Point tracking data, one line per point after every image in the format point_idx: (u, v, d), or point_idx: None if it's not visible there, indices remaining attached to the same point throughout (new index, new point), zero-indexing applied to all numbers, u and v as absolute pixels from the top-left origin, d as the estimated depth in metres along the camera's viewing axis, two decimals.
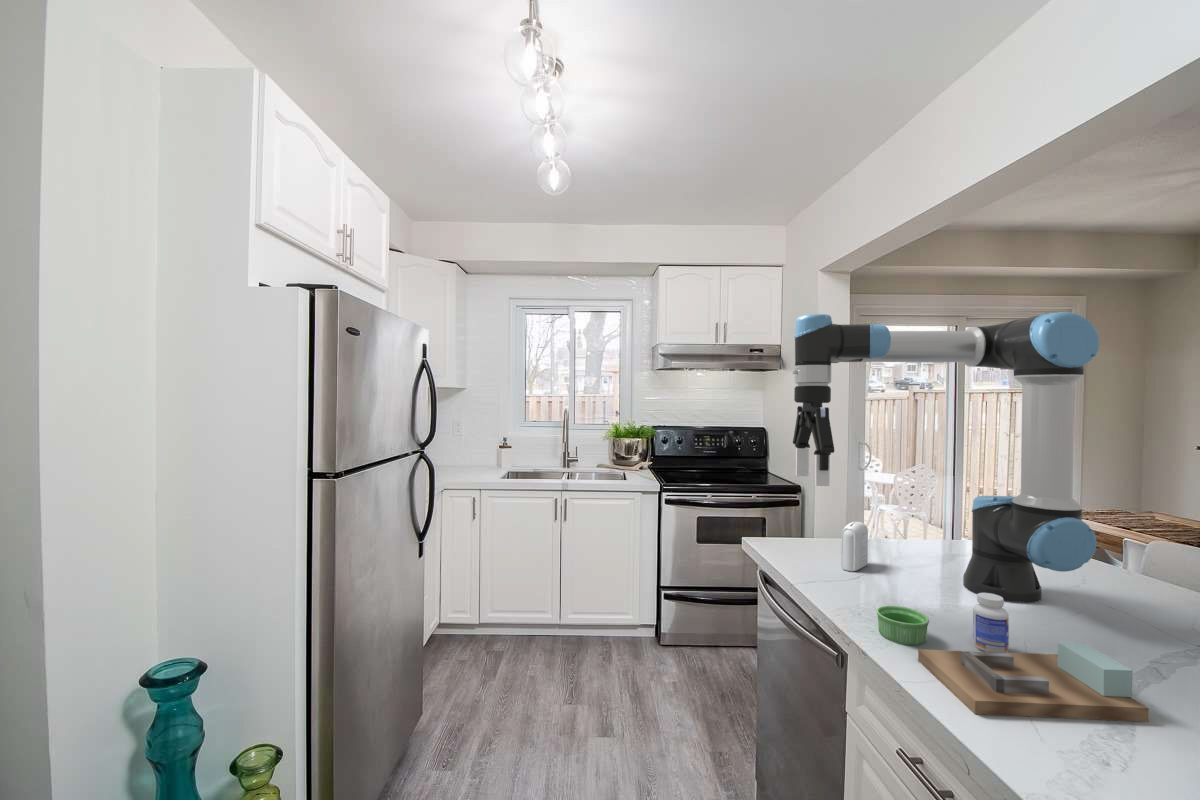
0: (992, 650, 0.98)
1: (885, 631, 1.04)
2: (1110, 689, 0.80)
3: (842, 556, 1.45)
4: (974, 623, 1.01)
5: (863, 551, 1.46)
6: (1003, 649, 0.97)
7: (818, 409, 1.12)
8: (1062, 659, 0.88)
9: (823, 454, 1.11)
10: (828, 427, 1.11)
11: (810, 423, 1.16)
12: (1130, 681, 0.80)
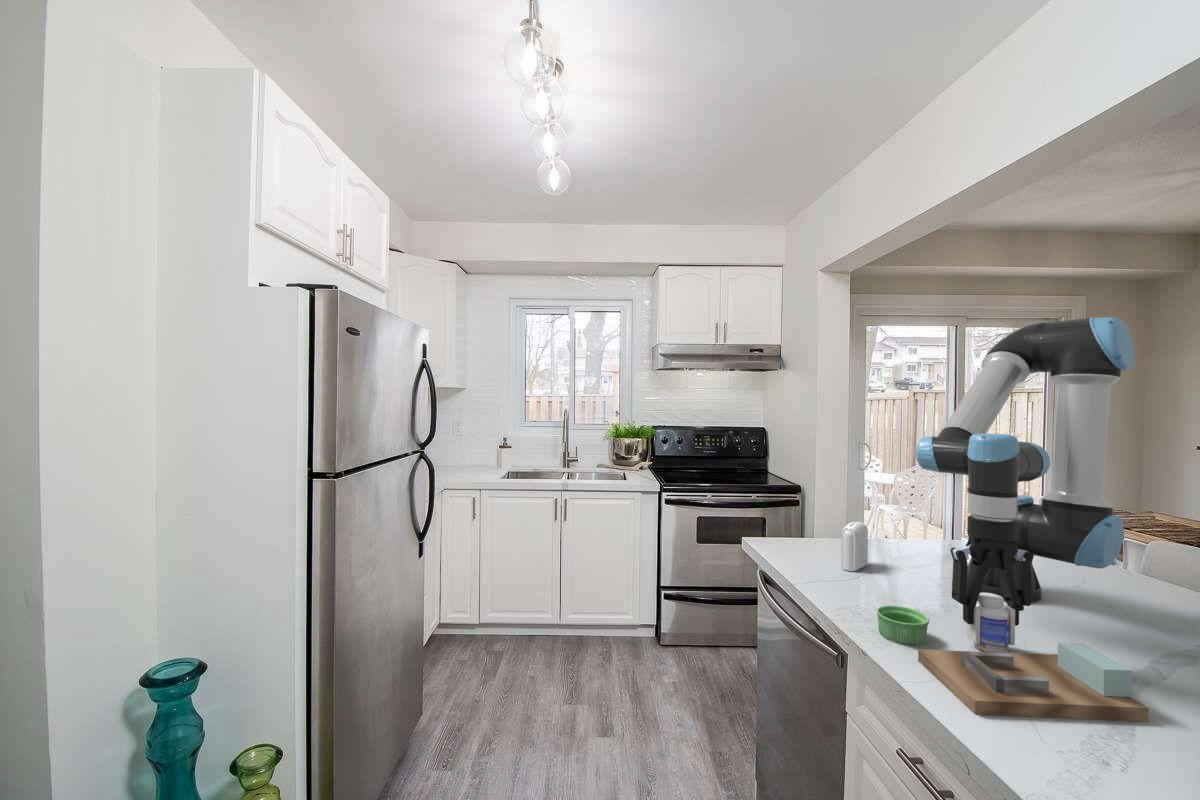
0: (992, 650, 0.98)
1: (885, 631, 1.04)
2: (1110, 689, 0.80)
3: (842, 556, 1.45)
4: None
5: (862, 551, 1.46)
6: (1003, 649, 0.97)
7: (951, 551, 1.01)
8: (1062, 659, 0.88)
9: (962, 603, 1.01)
10: (959, 574, 1.00)
11: (971, 563, 1.02)
12: (1130, 681, 0.80)
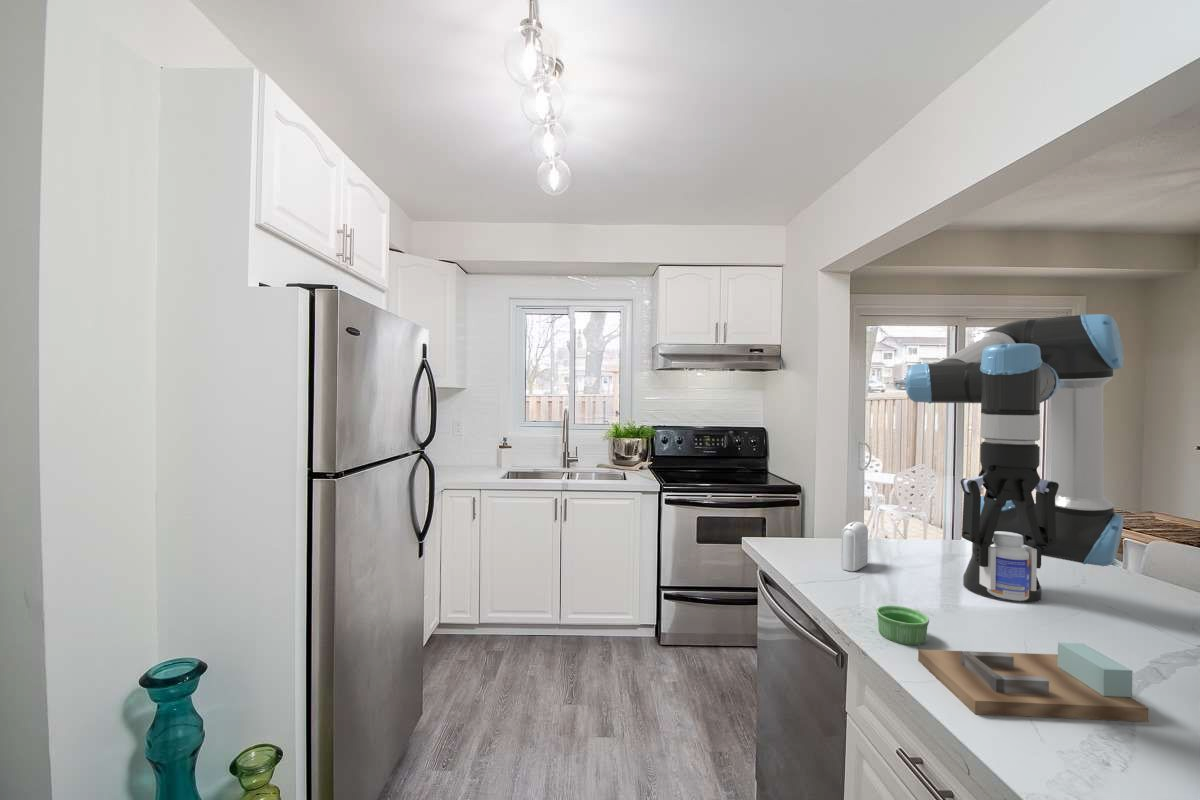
0: (1010, 596, 0.83)
1: (885, 631, 1.04)
2: (1110, 689, 0.80)
3: (842, 556, 1.45)
4: None
5: (862, 551, 1.46)
6: (1023, 594, 0.83)
7: (961, 482, 0.87)
8: (1062, 659, 0.88)
9: (974, 543, 0.86)
10: (970, 508, 0.85)
11: (985, 496, 0.87)
12: (1130, 681, 0.80)
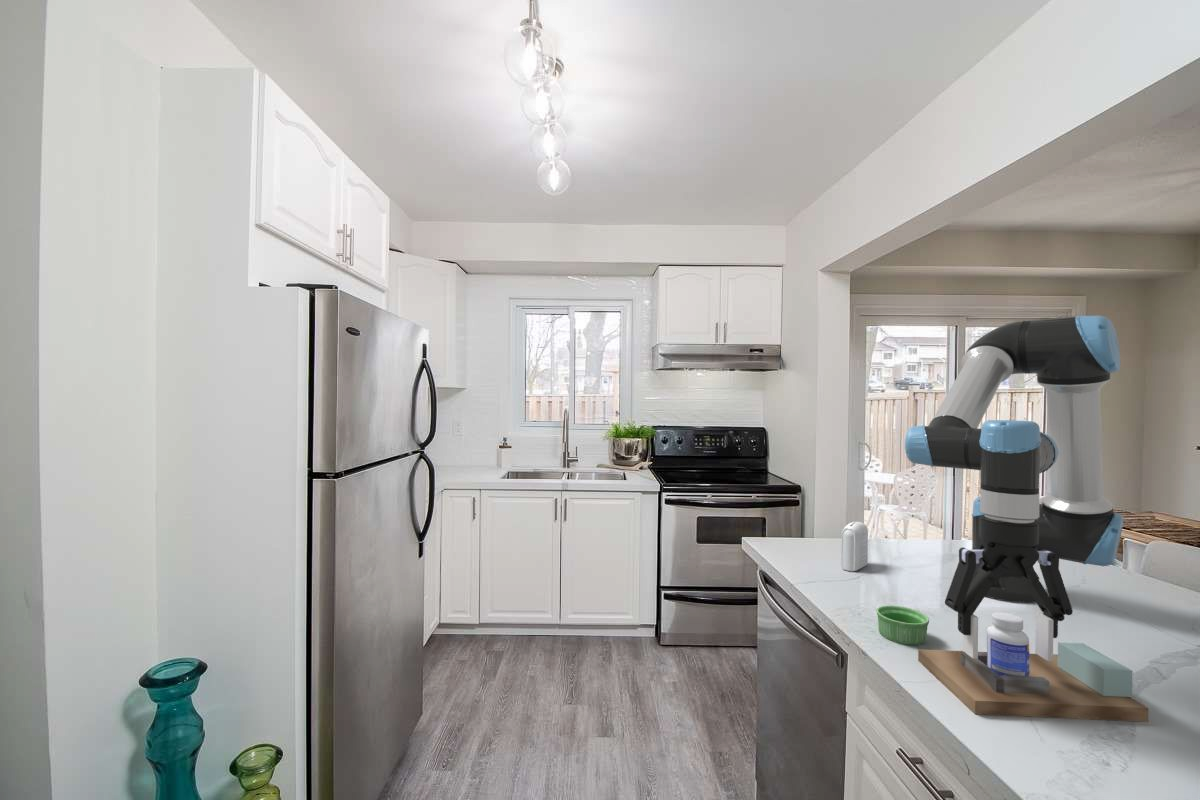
0: None
1: (885, 630, 1.04)
2: (1110, 689, 0.80)
3: (842, 556, 1.45)
4: (988, 648, 0.86)
5: (863, 551, 1.46)
6: None
7: (960, 551, 0.87)
8: (1062, 659, 0.88)
9: None
10: (962, 577, 0.85)
11: (979, 568, 0.87)
12: (1130, 681, 0.80)
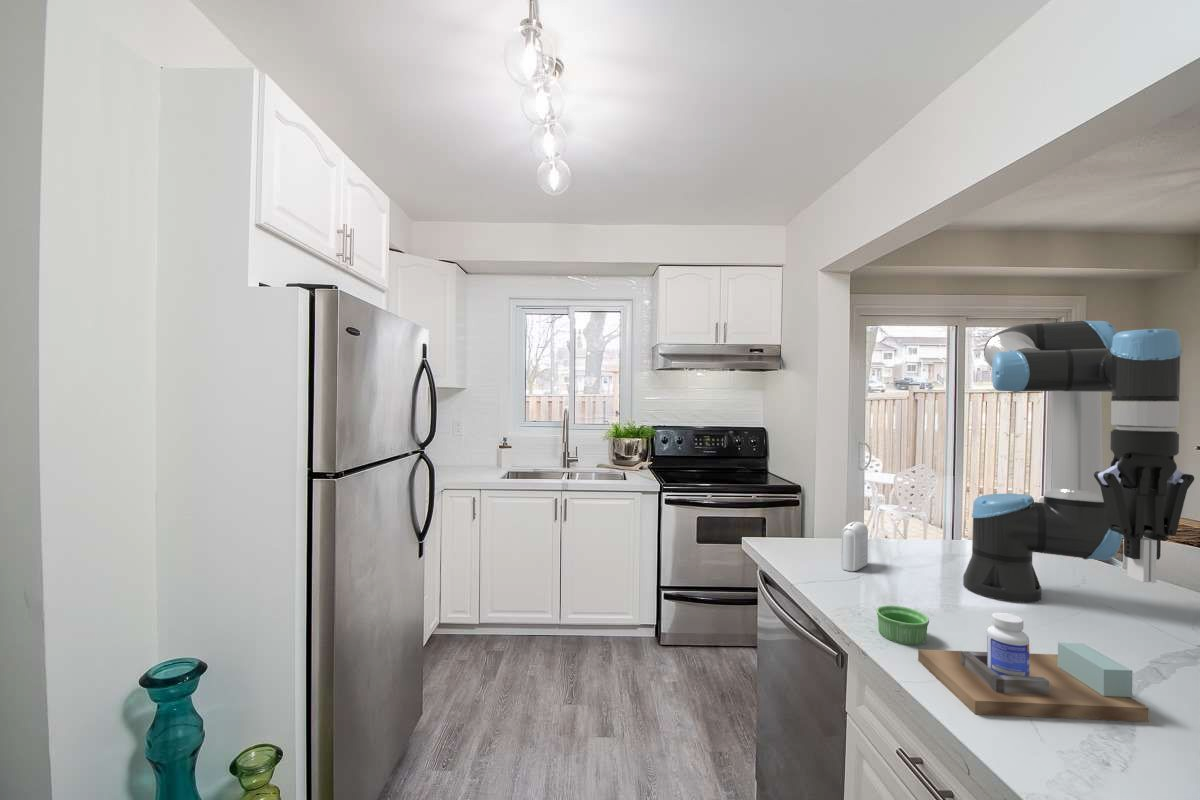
0: None
1: (885, 631, 1.04)
2: (1110, 689, 0.80)
3: (842, 556, 1.45)
4: (989, 648, 0.86)
5: (863, 551, 1.46)
6: None
7: (1095, 476, 0.85)
8: (1062, 659, 0.88)
9: (1123, 535, 0.85)
10: (1114, 501, 0.84)
11: (1121, 487, 0.86)
12: (1130, 681, 0.80)
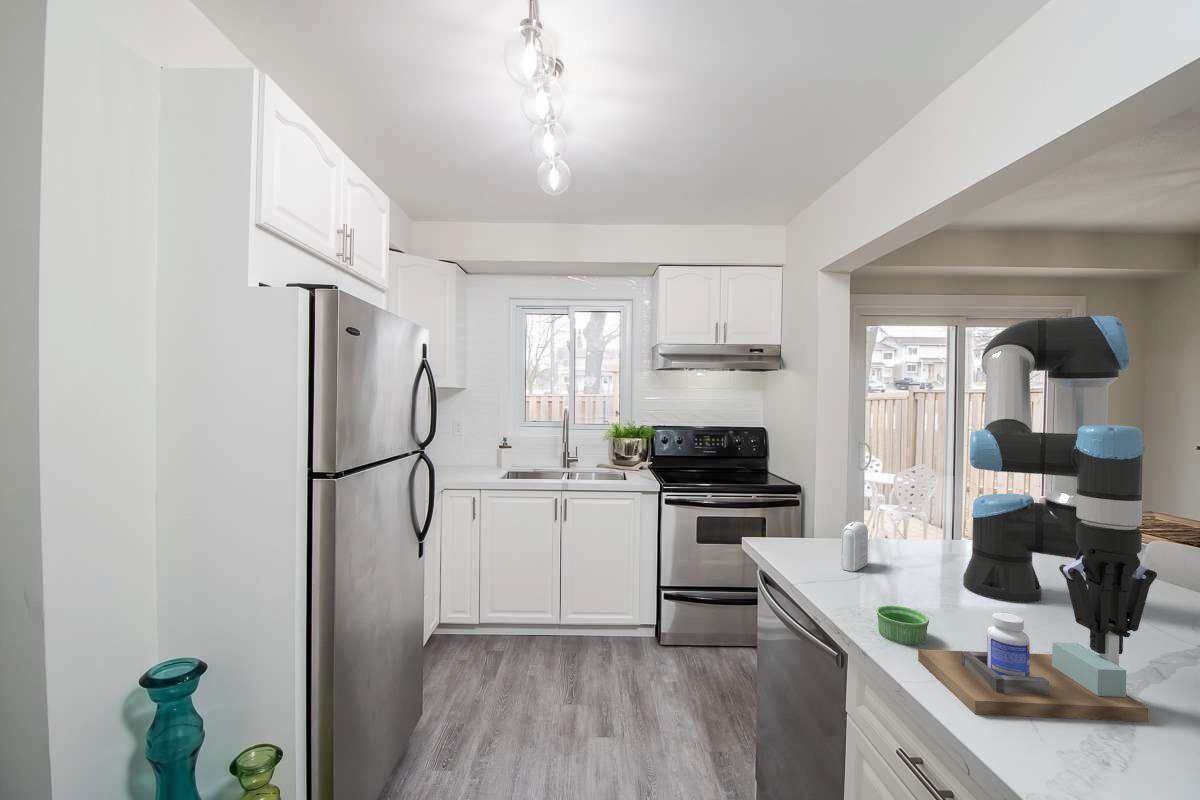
0: None
1: (885, 631, 1.04)
2: (1104, 689, 0.80)
3: (842, 556, 1.45)
4: (989, 648, 0.86)
5: (863, 551, 1.46)
6: None
7: (1061, 570, 0.86)
8: (1057, 658, 0.88)
9: None
10: (1079, 596, 0.84)
11: (1086, 579, 0.86)
12: (1124, 681, 0.80)
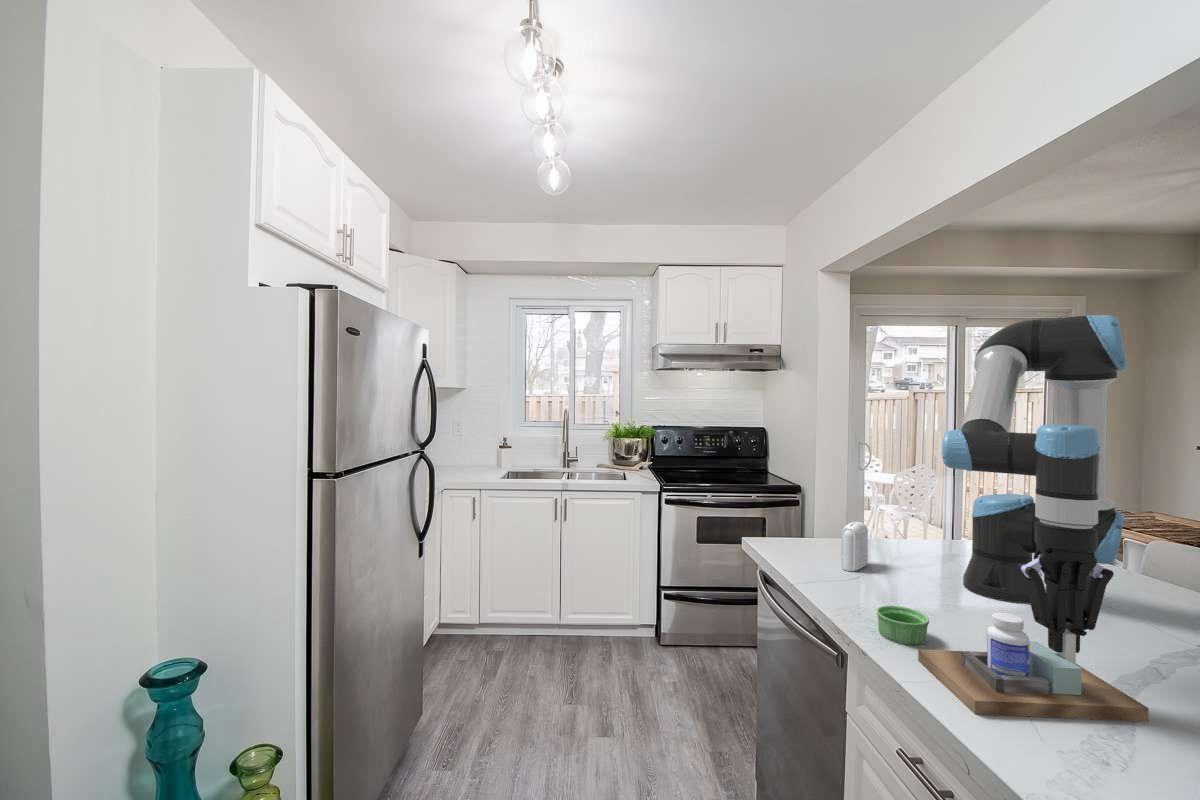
0: None
1: (885, 631, 1.04)
2: (1060, 687, 0.81)
3: (842, 556, 1.45)
4: (989, 648, 0.86)
5: (862, 551, 1.46)
6: None
7: (1019, 569, 0.86)
8: None
9: None
10: (1036, 595, 0.84)
11: (1045, 578, 0.86)
12: (1079, 679, 0.81)
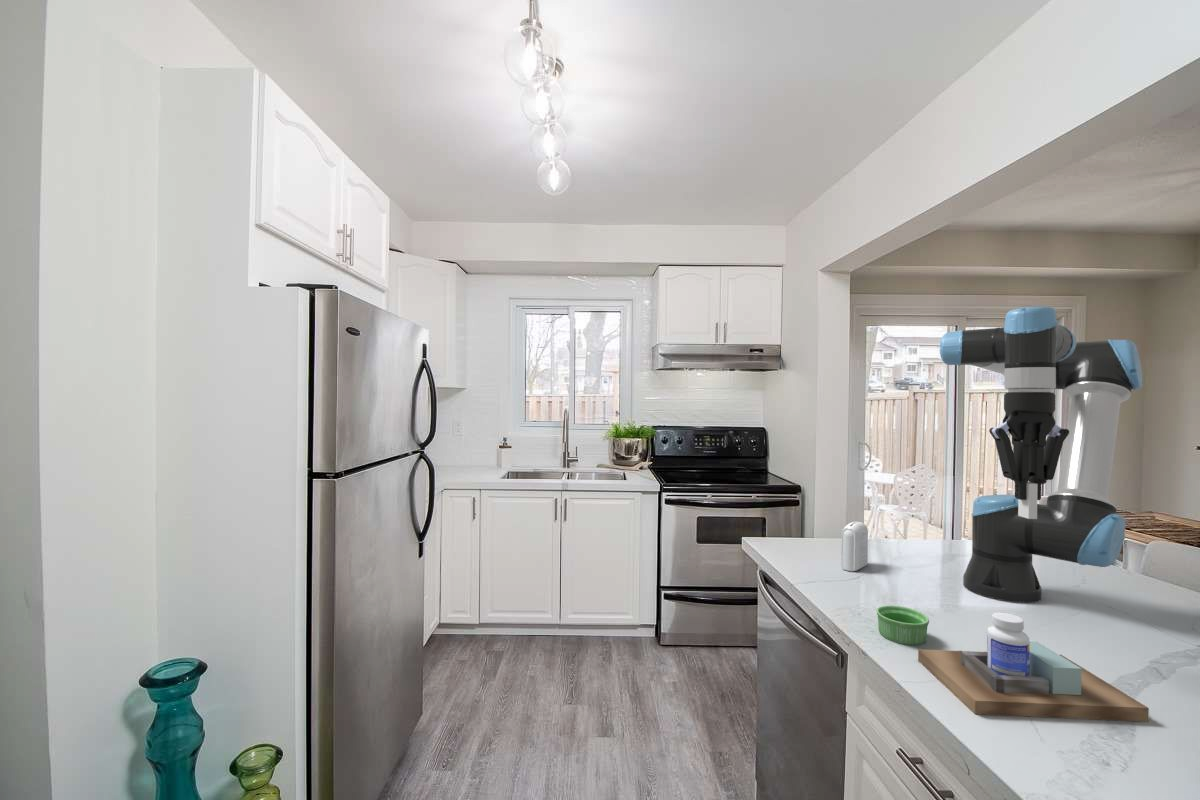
0: None
1: (885, 631, 1.04)
2: (1060, 687, 0.81)
3: (842, 556, 1.45)
4: (989, 649, 0.86)
5: (863, 551, 1.46)
6: None
7: (990, 431, 1.02)
8: None
9: (1014, 480, 1.01)
10: (1004, 451, 1.00)
11: (1012, 440, 1.02)
12: (1079, 679, 0.81)
